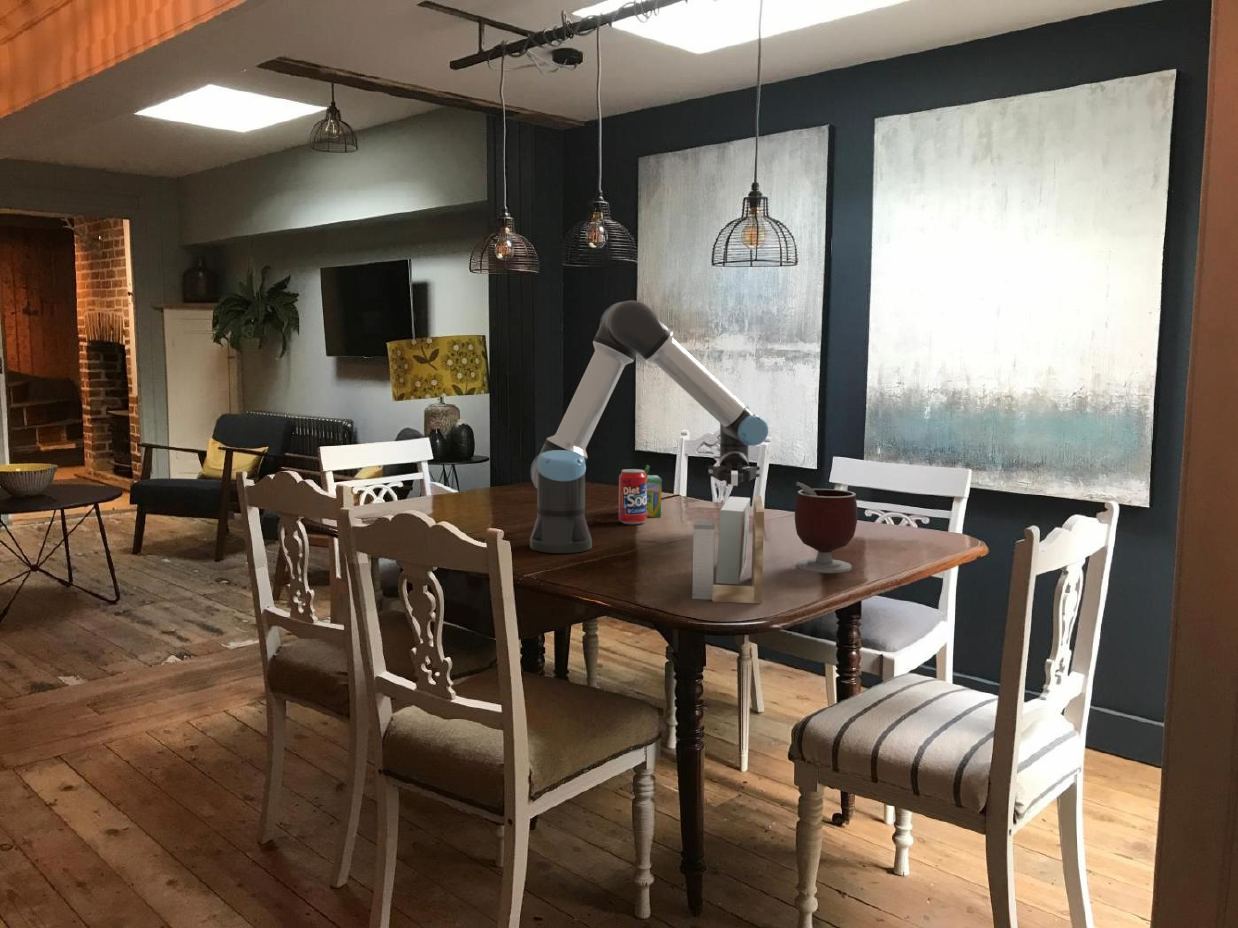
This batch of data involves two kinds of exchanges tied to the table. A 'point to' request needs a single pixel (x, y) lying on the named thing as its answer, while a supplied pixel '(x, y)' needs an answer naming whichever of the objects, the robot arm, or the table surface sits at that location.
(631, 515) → the soda can
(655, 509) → the juice box
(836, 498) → the mate gourd
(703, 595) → the grey carton
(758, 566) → the oak shelf corner
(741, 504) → the skincare box
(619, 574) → the table surface
